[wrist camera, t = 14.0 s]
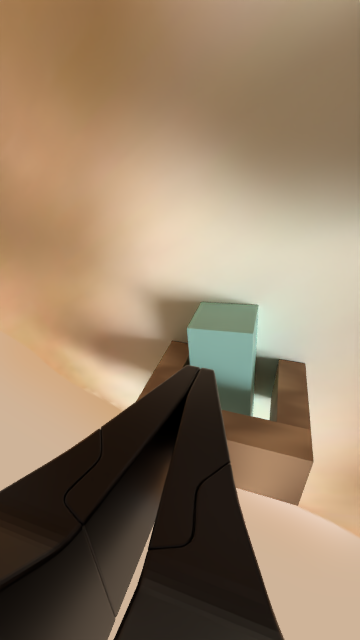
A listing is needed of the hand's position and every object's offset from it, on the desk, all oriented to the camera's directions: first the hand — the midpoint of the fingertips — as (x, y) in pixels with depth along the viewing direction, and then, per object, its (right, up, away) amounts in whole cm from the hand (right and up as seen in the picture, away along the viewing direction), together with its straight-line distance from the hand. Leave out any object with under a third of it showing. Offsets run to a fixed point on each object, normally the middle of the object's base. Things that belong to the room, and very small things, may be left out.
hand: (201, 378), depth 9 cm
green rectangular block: (+3, -2, +15) cm, 15 cm away
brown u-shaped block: (+4, -2, +15) cm, 15 cm away
